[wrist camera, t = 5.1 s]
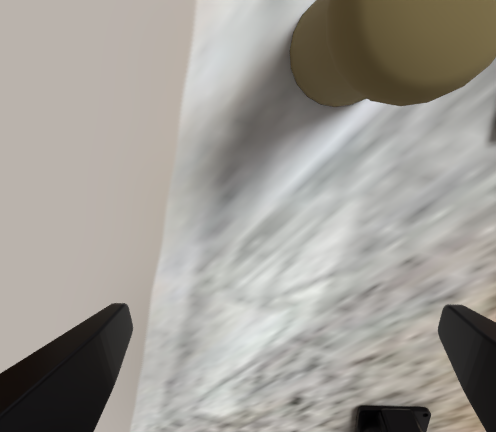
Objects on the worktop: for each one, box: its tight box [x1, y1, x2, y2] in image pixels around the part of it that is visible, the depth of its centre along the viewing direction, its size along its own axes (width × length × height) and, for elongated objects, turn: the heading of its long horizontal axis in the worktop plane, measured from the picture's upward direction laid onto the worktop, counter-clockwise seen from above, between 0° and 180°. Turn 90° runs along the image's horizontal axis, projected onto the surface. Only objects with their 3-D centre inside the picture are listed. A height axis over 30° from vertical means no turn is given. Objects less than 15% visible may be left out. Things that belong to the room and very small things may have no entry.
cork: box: [290, 0, 496, 107], centre depth 12 cm, size 6×6×11 cm
